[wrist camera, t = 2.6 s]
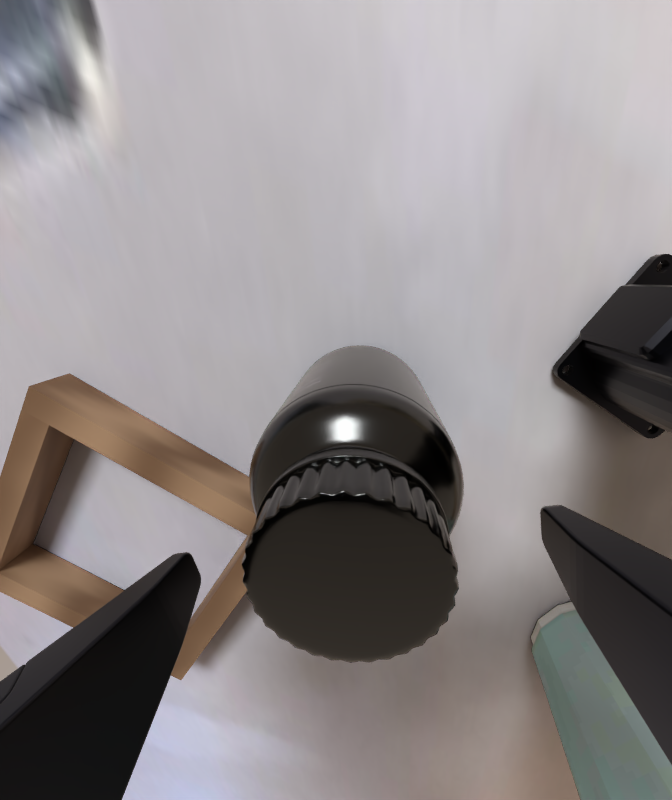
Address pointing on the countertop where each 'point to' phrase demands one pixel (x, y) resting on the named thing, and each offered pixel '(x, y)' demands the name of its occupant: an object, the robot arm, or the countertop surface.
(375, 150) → the countertop surface
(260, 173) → the countertop surface
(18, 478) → the square wooden frame
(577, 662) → the disposable coffee cup
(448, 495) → the supplement bottle
